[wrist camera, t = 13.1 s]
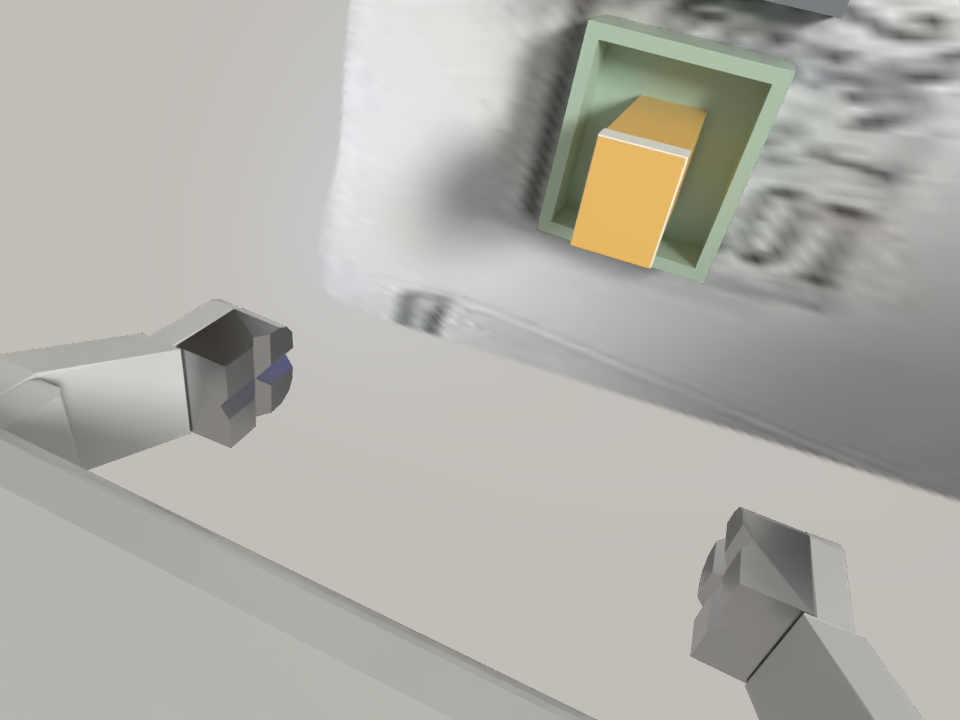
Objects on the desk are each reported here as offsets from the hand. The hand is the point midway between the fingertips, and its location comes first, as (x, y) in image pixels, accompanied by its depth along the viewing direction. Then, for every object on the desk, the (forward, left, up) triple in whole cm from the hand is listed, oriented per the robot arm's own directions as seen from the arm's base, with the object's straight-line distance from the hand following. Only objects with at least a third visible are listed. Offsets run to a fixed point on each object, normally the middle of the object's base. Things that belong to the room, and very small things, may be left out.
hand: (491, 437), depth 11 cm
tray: (0, 0, -24) cm, 24 cm away
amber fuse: (0, 0, -23) cm, 23 cm away
